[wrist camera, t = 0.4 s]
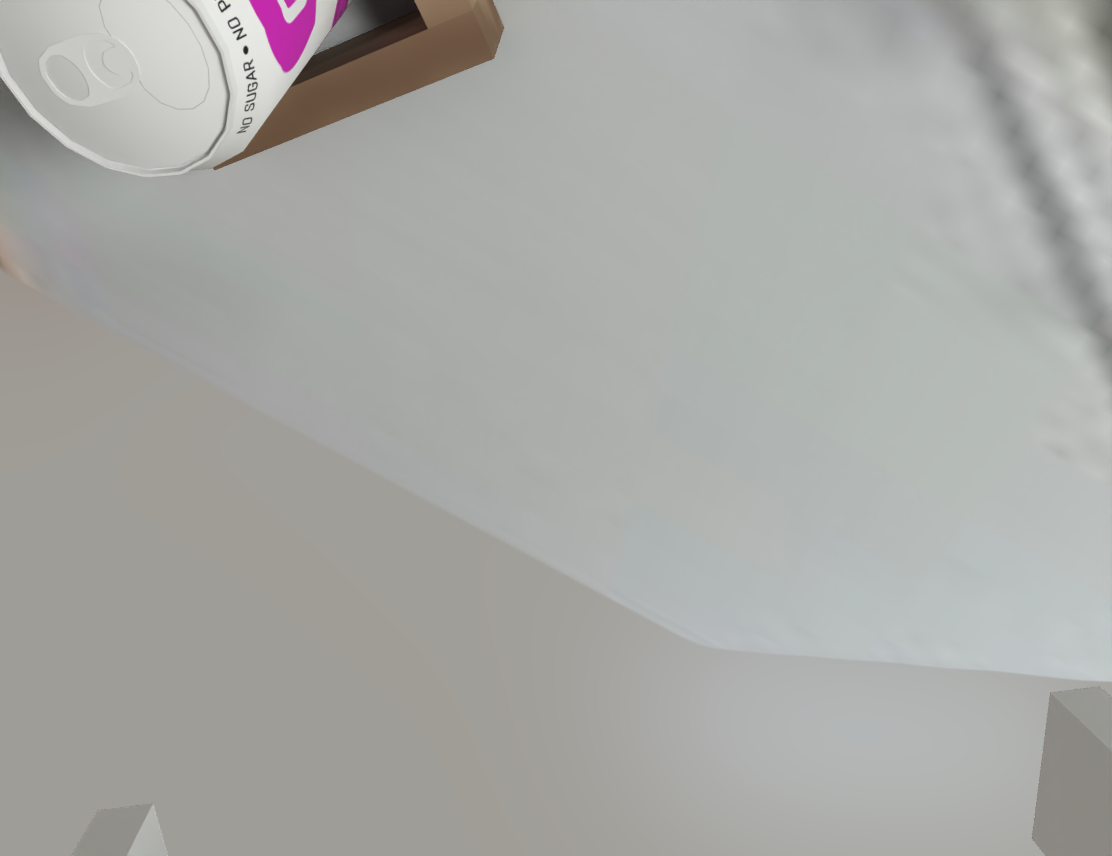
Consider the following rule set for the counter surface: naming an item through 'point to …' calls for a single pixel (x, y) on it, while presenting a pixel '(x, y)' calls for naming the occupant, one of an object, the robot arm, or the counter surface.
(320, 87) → the walnut collar
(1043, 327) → the counter surface
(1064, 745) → the robot arm
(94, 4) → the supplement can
